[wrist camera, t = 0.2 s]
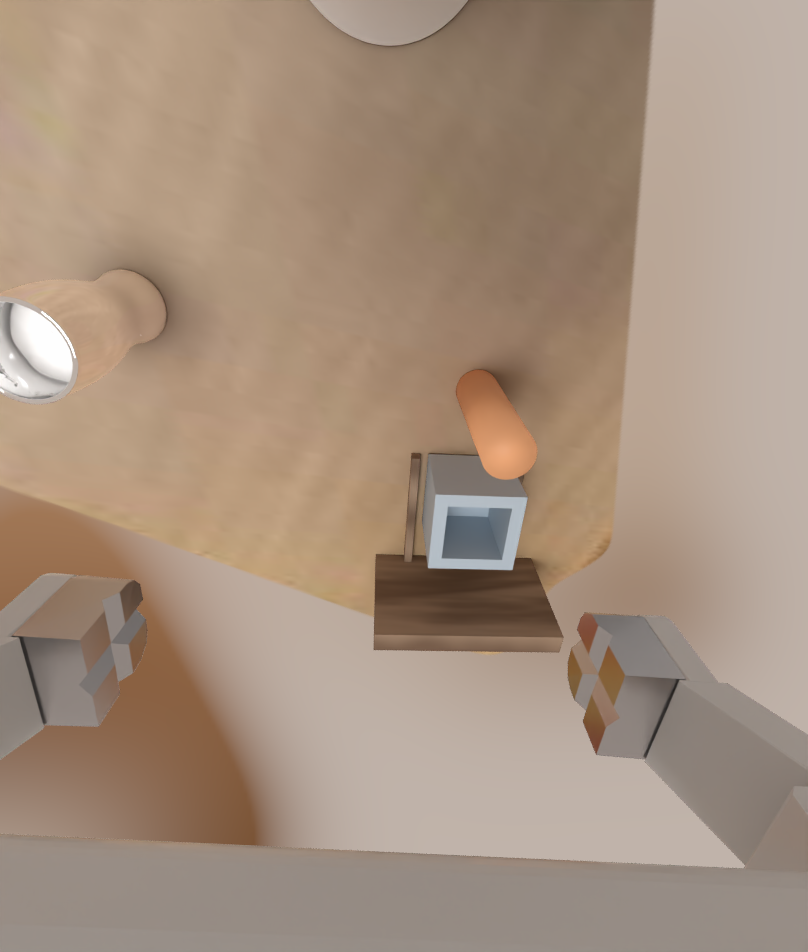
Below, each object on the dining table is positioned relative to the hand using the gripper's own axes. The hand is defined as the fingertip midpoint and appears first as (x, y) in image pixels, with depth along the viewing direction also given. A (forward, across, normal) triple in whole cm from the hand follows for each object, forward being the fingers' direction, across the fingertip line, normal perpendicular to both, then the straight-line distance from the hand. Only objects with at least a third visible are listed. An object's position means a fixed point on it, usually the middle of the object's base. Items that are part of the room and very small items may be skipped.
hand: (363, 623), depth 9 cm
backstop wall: (+41, -9, +19) cm, 46 cm away
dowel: (+40, -9, +5) cm, 41 cm away
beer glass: (+38, +23, 0) cm, 44 cm away
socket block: (+40, -9, +16) cm, 44 cm away
